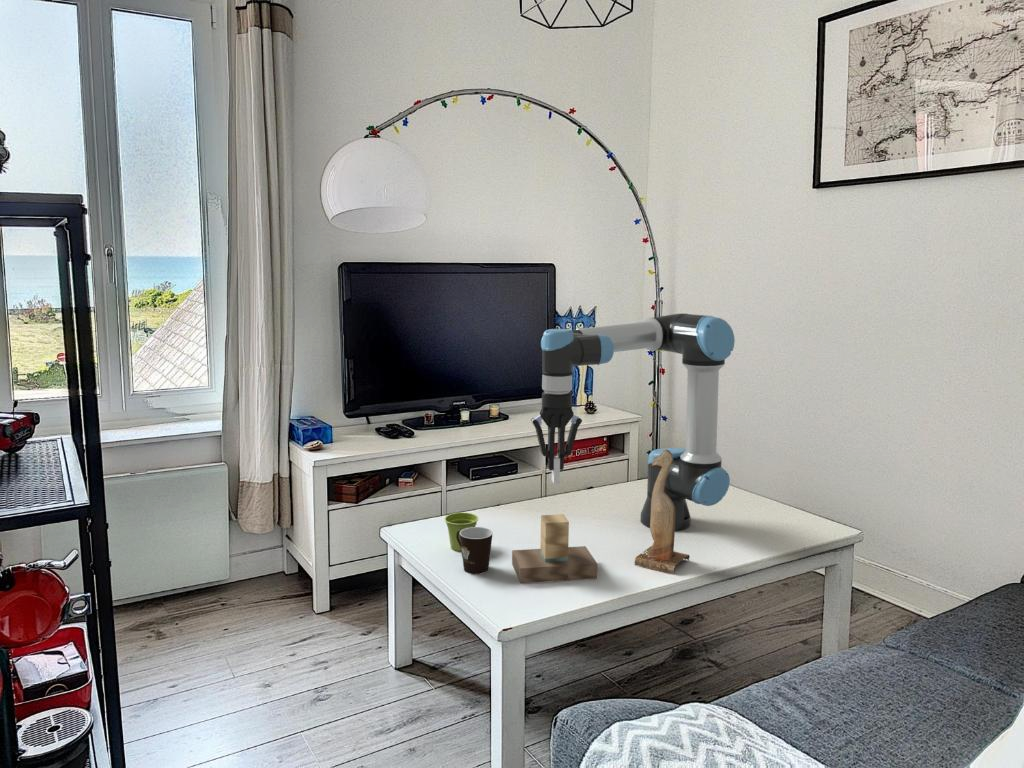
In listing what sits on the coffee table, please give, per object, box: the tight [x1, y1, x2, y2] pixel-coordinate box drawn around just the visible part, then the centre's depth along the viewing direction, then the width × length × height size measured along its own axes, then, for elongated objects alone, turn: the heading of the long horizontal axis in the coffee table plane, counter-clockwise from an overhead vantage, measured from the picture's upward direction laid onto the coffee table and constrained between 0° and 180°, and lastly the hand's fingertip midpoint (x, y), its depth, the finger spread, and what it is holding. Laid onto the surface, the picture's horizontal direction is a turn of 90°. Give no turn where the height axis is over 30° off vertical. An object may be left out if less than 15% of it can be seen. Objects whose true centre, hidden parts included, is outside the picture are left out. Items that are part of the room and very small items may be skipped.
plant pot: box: [444, 512, 479, 552], centre depth 220 cm, size 9×9×9 cm
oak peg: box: [540, 513, 570, 562], centre depth 203 cm, size 6×6×14 cm
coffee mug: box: [456, 526, 494, 575], centre depth 206 cm, size 12×9×10 cm
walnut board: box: [511, 545, 599, 584], centre depth 204 cm, size 20×12×4 cm, turn 100°
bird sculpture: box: [634, 449, 690, 575], centre depth 208 cm, size 11×12×32 cm
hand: (555, 481), depth 200 cm, fingers closed
